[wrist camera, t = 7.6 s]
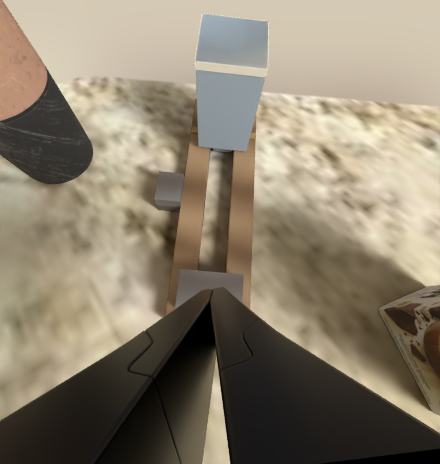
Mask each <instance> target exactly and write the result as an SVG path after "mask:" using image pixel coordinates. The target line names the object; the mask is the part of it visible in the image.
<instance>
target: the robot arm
mask: <svg viewBox="0 0 440 464" xmlns="http://www.w3.org/2000/svg"><path fill="white" fill-rule="evenodd" d="M216 354H217V362H218V370H219V378H220V386H221V394H222V401H223V409H224V417H225V425H226V433H227V440H228V448H229V456H230V464H440V433H438V432H437V431H435V430H434V429H432V428H430V427H429V426H427V425H426V424H424V423H422V422H421V421H419V420H418V419H416V418H414V417H413V416H411V415H410V414H408V413H406V412H405V411H403V410H402V409H400V408H398V407H397V406H395V405H394V404H392V403H390V402H389V401H387V400H386V399H384V398H382V397H381V396H379V395H378V394H376V393H374V392H373V391H371V390H370V389H368V388H366V387H365V386H363V385H362V384H360V383H358V382H357V381H355V380H354V379H352V378H350V377H349V376H347V375H346V374H344V373H342V372H341V371H339V370H338V369H336V368H334V367H333V366H331V365H330V364H328V363H326V362H325V361H323V360H322V359H320V358H318V357H317V356H315V355H314V354H312V353H310V352H309V351H307V350H306V349H304V348H302V347H301V346H299V345H298V344H296V343H294V342H293V341H291V340H290V339H288V338H286V337H285V336H283V335H282V334H280V333H279V332H277V331H276V330H275V329H273V328H272V327H271V326H270V325H268V324H267V323H266V322H265V321H263V320H262V319H261V318H259V317H258V316H257V315H256V314H255V313H253V312H252V311H251V310H250V309H249V308H248V307H246V306H245V305H244V304H243V303H242V302H241V301H239V300H238V299H237V298H236V297H235V296H233V295H232V294H231V293H230V292H229V291H228V290H226V289H225V288H224V287H220V288H214V289H203V290H201V291H200V292H199V293H197V294H196V295H194V296H193V297H191V298H190V299H189V300H187V301H186V302H184V303H183V304H182V305H180V306H179V307H177V308H176V309H175V310H173V311H172V312H170V313H169V314H168V315H166V316H165V317H163V318H162V319H160V320H159V321H158V322H156V323H155V324H153V325H152V326H151V327H149V328H148V329H146V330H145V331H143V332H141V333H140V334H139V335H137V336H136V337H134V338H133V339H131V340H130V341H128V342H127V343H126V344H124V345H123V346H121V347H119V348H118V349H116V350H115V351H113V352H111V353H110V354H108V355H107V356H105V357H104V358H102V359H100V360H99V361H97V362H95V363H94V364H92V365H90V366H89V367H87V368H86V369H84V370H82V371H81V372H79V373H77V374H76V375H74V376H72V377H71V378H69V379H68V380H66V381H64V382H63V383H61V384H59V385H58V386H56V387H54V388H53V389H51V390H50V391H48V392H46V393H45V394H43V395H41V396H40V397H38V398H37V399H35V400H33V401H32V402H30V403H28V404H27V405H25V406H23V407H22V408H20V409H19V410H17V411H15V412H14V413H12V414H10V415H9V416H7V417H5V418H4V419H2V420H1V421H0V464H202V461H203V453H204V445H205V437H206V430H207V422H208V414H209V407H210V399H211V391H212V383H213V376H214V368H215V360H216Z"/></svg>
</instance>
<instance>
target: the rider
mask: <svg viewBox="0 0 440 464" xmlns="http://www.w3.org/2000/svg"><path fill="white" fill-rule="evenodd" d="M268 34H269V21H262V20H254V19H245V18H237V17H228V16H220V15H212V14H203V13H202V17H201V23H200V30H199V36H198V43H197V50H196V56H195V70H196V89H197V116H198V144H199V147H206V148H213V151H221V152H231V150H236V151H245V152H246V151H247V147H248V143H249V139H250V135H251V131H252V127H253V123H254V119H255V116H256V112H257V108H258V104H259V100H260V96H261V92H262V88H263V84H264V80H265V78H266V76H267V72H268V38H269V35H268Z"/></svg>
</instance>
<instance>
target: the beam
mask: <svg viewBox="0 0 440 464" xmlns="http://www.w3.org/2000/svg"><path fill="white" fill-rule="evenodd" d="M255 139H256V116H255V119H254V123H253V127H252V131H251V135H250V139H249V143H248V147H247V151H246V152H245V151H236V150H233V164H232V178H231V193H230V208H229V223H228V237H227V252H226V267H225V273H221V272H210V271H198V264H199V254H200V245H201V235H202V226H203V216H204V207H205V197H206V188H207V178H208V169H209V159H210V150H211V148H206V147H199V144H198V116H197V98H196V101H195V108H194V115H193V122H192V128H191V137H190V144H189V151H188V158H187V165H186V172H185V177H184V174H181V173H171V172H160V171H159V175H158V180H157V186H156V191H155V197H154V200H155V203H156V205H157V207H158V209H159V210H166V211H177V212H180V215H179V222H178V229H177V236H176V243H175V250H174V257H173V264H172V271H171V279H170V286H169V293H168V300H167V307H166V314H165V316H166V315H168V314H169V313H170V312H172V311H173V310H175V309H176V308H177V307H179V306H180V305H182V304H183V303H184V302H186V301H187V300H189V299H190V298H191V297H193V296H194V295H196V294H197V293H199V292H200V291H201V290H203V289H214V288H220V287H224V288H225V289H226V290H228V291H229V292H230V293H231V294H232V295H233V296H235V297H236V298H237V299H238V300H239V301H241V302H242V303H243V304H244V305H245V306H246V307H248V308H249V309H250V290H251V259H252V229H253V198H254V168H255Z"/></svg>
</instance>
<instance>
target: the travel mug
mask: <svg viewBox="0 0 440 464" xmlns="http://www.w3.org/2000/svg"><path fill="white" fill-rule="evenodd" d="M0 155H1V156H3V157H4V158H6V159H7V160H8V161H10V162H11V163H12V164H14V165H15V166H16V167H18V168H19V169H21V170H22V171H23V172H25V173H26V174H28V175H29V176H30V177H32V178H33V179H35V180H37V181H40V182H43V183H48V184H59V183H64V182H67V181H70V180H72V179H74V178H76V177H78V176H79V175H81V174H82V173H83V172H84V171H85V170H86V169H87V168H88V166H89V164H90V162H91V160H92V157H93V148H92V144H91V142H90V140H89V138H88V136H87V134H86V133H85V131H84V129H83V128H82V126H81V124H80V123H79V121H78V119H77V118H76V116H75V114H74V113H73V111H72V109H71V108H70V106H69V104H68V103H67V101H66V100H65V98H64V96H63V95H62V93H61V91H60V90H59V88H58V86H57V85H56V83H55V81H54V80H53V78H52V76H51V75H50V73H49V72H48V70H47V68H46V66H45V65H44V63H43V62H42V60H41V58H40V57H39V56H38V54H37V52H36V51H35V49H34V48H33V47H32V45H31V43H30V42H29V40H28V39H27V37H26V36H25V34H24V33H23V31H22V30H21V28H20V26H19V25H18V23H17V22H16V20H15V19H14V17H13V16H12V14H11V13H10V11H9V10H8V8H7V7H6V5H5V3H4V2H3V0H0Z"/></svg>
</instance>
